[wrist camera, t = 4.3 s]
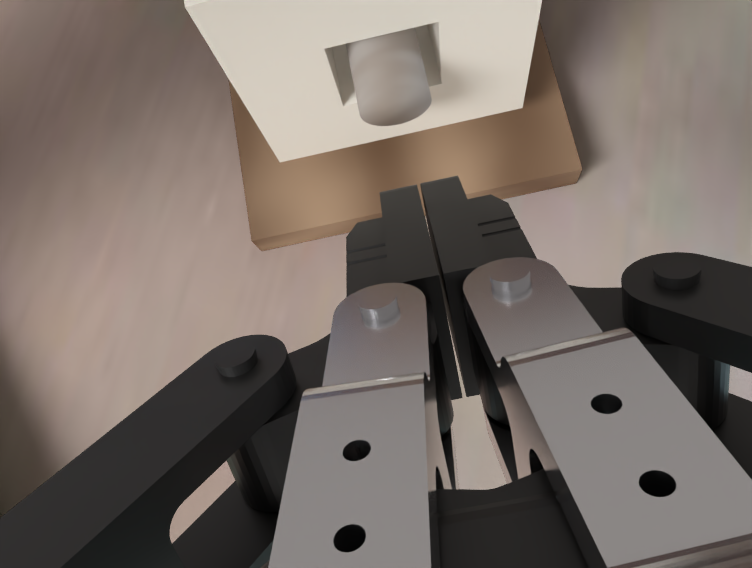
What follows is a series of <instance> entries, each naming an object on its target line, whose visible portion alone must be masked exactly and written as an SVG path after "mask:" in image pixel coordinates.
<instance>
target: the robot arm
mask: <svg viewBox="0 0 752 568" xmlns="http://www.w3.org/2000/svg"><path fill="white" fill-rule="evenodd" d="M420 186H421V192H422V198H423V203H424V208H425V213H426V218H427V224H428V228H427V224H426V220H425V215H424V211H423V207H422V203H421V199H420V195H419V191H418V187H417V184H416V185H411V186H406V187H402V188H397V189H392V190H387V191H383V192H380V202H381V210H382V217H381V218H376V219H372V220H367V221H362V222H358V223H357V224H356V225H355V226H354V228H353V229H352V230H351V232H350V233H349V234H348V236H347V237H346V251H347V254H346V260H347V297H346V298H345V299H344V300H343V301H342V302H341V303H340V304H339V305H338V306H337V308H336V310H335V312H334V315H333V321H332V328H331V333H330V334H329V335H327V336H326V337H324V338H322V339H321V340H319V341H317V342H315V343H313V344H311V345H309V346H306V347H304V348H301V349H299V350H296V351H294V352H291V353H289V354H288V353H287V350H286V347H285V345H284V344H283V342H282V341H280V340H279V339H277V338H275V337H272V336H268V335H249V336H243V337H239V338H236V339H233V340H230V341H227V342H225V343H223V344H221V345H219V346H217V347H216V348H214V349H212V350H211V351H209V352H208V353H207V354H205V355H204V356H203V357H202V358H200V359H199V360H198V361H197V362H195V363H194V364H193V365H192V366H190V367H189V368H188V369H187V370H185V371H184V372H183V373H182V374H180V375H179V376H178V377H177V378H175V379H174V380H173V381H171V382H170V383H169V384H168V385H166V386H165V387H164V388H163V389H161V390H160V391H159V392H158V393H156V394H155V395H154V396H153V397H151V398H150V399H149V400H148V401H146V402H145V403H144V404H143V405H141V406H140V407H139V408H138V409H136V410H135V411H134V412H133V413H131V414H130V415H129V416H128V417H126V418H125V419H124V420H123V421H121V422H120V423H119V424H117V425H116V426H115V427H114V428H112V429H111V430H110V431H109V432H107V433H106V434H105V435H104V436H102V437H101V438H100V439H99V440H97V441H96V442H95V443H94V444H92V445H91V446H90V447H89V448H87V449H86V450H85V451H84V452H82V453H81V454H80V455H79V456H77V457H76V458H75V459H74V460H72V461H71V462H70V463H69V464H67V465H66V466H65V467H64V468H62V469H61V470H60V471H58V472H57V473H56V474H55V475H53V476H52V477H51V478H50V479H48V480H47V481H46V482H45V483H43V484H42V485H41V486H40V487H38V488H37V489H36V490H35V491H33V492H32V493H31V494H30V495H28V496H27V497H26V498H25V499H23V500H22V501H21V502H20V503H18V504H17V505H16V506H15V507H13V508H12V509H11V510H10V511H8V512H7V513H6V514H4V515H3V516H2V517H1V518H0V568H752V402H751V401H749V400H746V399H743V398H741V397H738V396H736V395H733V394H730V393H728V390H729V375H730V365H731V366H734V367H737V368H740V369H743V370H745V371H748V372H751V373H752V267H749V266H745V265H741V264H737V263H733V262H729V261H725V260H720V259H716V258H712V257H708V256H704V255H699V254H693V253H680V252H674V253H662V254H656V255H652V256H648V257H645V258H642V259H640V260H638V261H636V262H634V263H633V264H631V265H630V266H629V267H627V268H626V269H625V271H624V273H623V274H622V278H621V283H622V288H585V287H577V286H572V285H568V284H567V283H566V281H565V280H564V279H563V277H562V276H561V275H560V273H559V272H558V271H557V269H556V268H555V267H554V266H552V265H551V264H549V263H547V262H545V261H542V260H538V259H537V258H536V256H535V254H534V252H533V250H532V248H531V246H530V244H529V242H528V241H527V239H526V237H525V235H524V233H523V231H522V229H521V228H520V225H519V223H518V221H517V220H516V219H515V216H514V214H513V212H512V210H511V208H510V206H509V204H508V203H507V202H505V201H503V200H501V199H499V198H497V197H495V196H493V195H491V194H490V195H485V196H480V197H475V198H471V199H467V197H466V194H465V192H464V189H463V187H462V184H461V182H460V179H459V177H458V175H457V176H452V177H448V178H443V179H438V180H434V181H429V182H424V183H420ZM428 229H429V232H428ZM429 234H430V236H429ZM430 239H431V240H430ZM446 313H447V314H446ZM447 318H448V319H447ZM448 322H449V324H448ZM449 326H450V330H451V334H452V338H453V343H454V347H455V351H456V355H457V359H458V363H459V367H460V372H461V376H462V380H463V384H464V388H465V392H466V397H469V396H474V395H479V394H480V396H481V399H482V403H483V408H484V414H485V420H486V426H487V431H488V434H489V437H490V440H491V442H492V445H493V447H494V450H495V453H496V455H497V458H498V461H499V463H500V466H501V468H502V471H503V474H504V476H505V479H506V482H507V484H506V485H503V486H501V487H498V488H495V489H489V490H463V489H459V482H458V471H457V460H456V449H455V439H454V434H453V429H452V425H451V424H452V421H453V416H454V415H453V408H452V403H451V400H454V399H459V398H462V393H461V387H460V382H459V377H458V372H457V366H456V361H455V356H454V351H453V345H452V340H451V335H450V330H449ZM226 460H227V462H228V465H229V467H230V469H231V471H232V474H233V476H234V478H235V480H236V481H235V482H234V483H233V484H232V485H231V486H230V487H229V488H228V489H227V490H226V491H225V492H224V493H223V494H222V495H221V496H220V497H219V498H218V499H217V500H216V501H215V502H214V503H213V504H212V505H211V506H210V507H209V508H208V509H207V510H206V511H205V512H204V513H203V514H202V515H201V516H200V517H199V518H198V519H197V520H196V521H195V522H194V523H193V524H192V525H191V526H190V527H189V528H188V529H187V530H186V531H185V532H184V533H183V534H182V535H181V536H180V537H179V538H177V539H176V540H175V541H174V542H173V543H171V541H170V536H169V530H170V524H171V521H172V518H173V516H174V514H175V512H176V510H177V509H178V507H179V506H180V505H181V504H182V503H183V501H184V500H185V499H187V498H188V497H189V496H190V495H191V494H192V493H193V492H194V491H195V490H196V489H197V488H198V487H199V486H200V485H201V484H202V483H203V482H204V481H205V480H206V479H207V478H208V477H209V476H211V475H212V474H213V473H214V472H215V471H216V470H217V469H218V468H219V467H220V466H221V465H222V464H223V463H224V462H225V461H226Z"/></svg>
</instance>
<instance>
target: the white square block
mask: <svg viewBox="0 0 752 568" xmlns="http://www.w3.org/2000/svg"><path fill="white" fill-rule="evenodd" d="M184 4H185V8H186V10H187V11H188V13H189V15H190V16H191V18H192V20H193V21H194V23H195V24H196V26H197V28H198V29H199V31H200V33H201V34H202V36H203V38H204V39H205V41H206V42H207V44H208V46H209V47H210V49H211V51H212V52H213V54H214V56H215V57H216V59H217V60H218V62H219V64H220V65H221V67H222V69H223V70H224V72H225V74H226V75H227V77H228V78H229V80H230V82H231V83H232V85H233V87H234V88H235V90H236V92H237V93H238V95H239V96H240V98H241V100H242V101H243V103H244V105H245V106H246V108H247V110H248V111H249V113H250V114H251V116H252V118H253V119H254V121H255V123H256V124H257V126H258V128H259V129H260V131H261V132H262V134H263V136H264V137H265V139H266V141H267V142H268V144H269V146H270V147H271V149H272V150H273V152H274V154H275V155H276V157H277V159H278V160H279V162H284V161H289V160H293V159H298V158H302V157H307V156H311V155H316V154H320V153H324V152H329V151H333V150H338V149H342V148H347V147H351V146H356V145H360V144H365V143H369V142H373V141H378V140H382V139H387V138H391V137H396V136H400V135H405V134H409V133H414V132H418V131H422V130H427V129H431V128H436V127H440V126H445V125H449V124H454V123H458V122H462V121H467V120H471V119H476V118H480V117H485V116H489V115H494V114H498V113H503V112H507V111H511V110H516V109H520V108H523V103H524V97H525V92H526V86H527V81H528V75H529V70H530V64H531V59H532V53H533V48H534V42H535V37H536V31H537V26H538V21H539V15H540V10H541V4H542V0H184ZM414 27H415V29H416V33H417V38H418V42H419V46H420V51H421V55H422V59H423V64H424V68H425V72H426V77H427V81H428V85H429V89H430V94H431V98H432V102H431V105H430V107H429V108H428V109H427V110H426V111H425V112H424V113H423V114H422V115H420V116H419V117H417V118H415V119H413V120H411V121H408V122H406V123H402V124H398V125H393V126H376V125H371V124H368V123H366V122H365V121H363V120H362V118H361V117H360V114H359V109H358V104H357V99H356V94H355V88H354V83H353V78H352V73H351V68H350V63H349V58H348V53H347V48H346V43H351V42H355V41H359V40H363V39H368V38H372V37H376V36H380V35H385V34H389V33H393V32H397V31H402V30H406V29H410V28H414Z"/></svg>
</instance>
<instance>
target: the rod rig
mask: <svg viewBox="0 0 752 568" xmlns="http://www.w3.org/2000/svg"><path fill="white" fill-rule="evenodd" d="M346 48H347V53H348V58H349V63H350V68H351V73H352V78H353V83H354V88H355V94H356V99H357V104H358V109H359V114H360V117H361V118H362V120H363V121H365V122H366V123H368V124H371V125H376V126H393V125H398V124H402V123H406V122H408V121H411V120H413V119H415V118H417V117H419V116H420V115H422V114H423V113H424V112H425V111H426V110H427V109H428V108H429V107H430V105H431V102H432V98H431V94H430V89H429V85H428V81H427V77H426V72H425V68H424V64H423V59H422V55H421V51H420V46H419V42H418V38H417V33H416V29H415V27H414V28H410V29H406V30H402V31H397V32H393V33H389V34H385V35H380V36H376V37H372V38H368V39H363V40H359V41H355V42H351V43H346ZM228 79H229V78H228ZM229 86H230V93H231V100H232V107H233V114H234V121H235V128H236V135H237V142H238V149H239V156H240V163H241V170H242V177H243V184H244V191H245V198H246V205H247V212H248V219H249V226H250V233H251V240H252V242H253V243H254V244H255V245H256V246H257V247H258V248H259V249H260V250H261V251H265V250H270V249H274V248H279V247H283V246H288V245H293V244H297V243H302V242H307V241H311V240H316V239H320V238H325V237H330V236H334V235H339V234H344V233H348V232H351V230H352V229H353V228H354V226H355V225H356V224H357V223H358V222H362V221H367V220H372V219H376V218H381V217H382V210H381V202H380V192H383V191H387V190H392V189H397V188H402V187H406V186H411V185H416V184H417V187H418V191H419V195H420V199H421V203H422V207H423V211H424V215H425V216H426V213H425V208H424V203H423V198H422V192H421V186H420V183H424V182H429V181H434V180H438V179H443V178H448V177H452V176H457V175H458V177H459V179H460V182H461V184H462V187H463V189H464V192H465V194H466V197H467V199H471V198H475V197H480V196H485V195H490V194H491V195H493V196H495V197H497V198H499V199H506V198H510V197H515V196H520V195H524V194H529V193H533V192H538V191H543V190H547V189H552V188H557V187H561V186H566V185H571V184H575V183H577V180H578V178H579V176H580V173H581V171H582V166H581V163H580V159H579V156H578V153H577V149H576V146H575V142H574V139H573V135H572V132H571V128H570V125H569V121H568V118H567V114H566V111H565V107H564V104H563V100H562V97H561V94H560V90H559V87H558V83H557V80H556V76H555V73H554V69H553V66H552V62H551V59H550V55H549V52H548V48H547V45H546V41H545V38H544V35H543V31H542V28H541V24H540V21H538V26H537V31H536V37H535V42H534V48H533V53H532V59H531V64H530V70H529V75H528V81H527V86H526V92H525V97H524V103H523V108H520V109H516V110H511V111H507V112H503V113H498V114H494V115H489V116H485V117H480V118H476V119H471V120H467V121H462V122H458V123H454V124H449V125H445V126H440V127H436V128H431V129H427V130H422V131H418V132H414V133H409V134H405V135H400V136H396V137H391V138H387V139H382V140H378V141H373V142H369V143H365V144H360V145H356V146H351V147H347V148H342V149H338V150H333V151H329V152H324V153H320V154H316V155H311V156H307V157H302V158H298V159H293V160H289V161H284V162H279V160H278V159H277V157H276V155H275V154H274V152H273V150H272V149H271V147H270V146H269V144H268V142H267V141H266V139H265V137H264V136H263V134H262V132H261V131H260V129H259V128H258V126H257V124H256V123H255V121H254V119H253V118H252V116H251V114H250V113H249V111H248V110H247V108H246V106H245V105H244V103H243V101H242V100H241V98H240V96H239V95H238V93H237V92H236V90H235V88H234V87H233V85H232V83H231V82H230V80H229Z"/></svg>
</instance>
